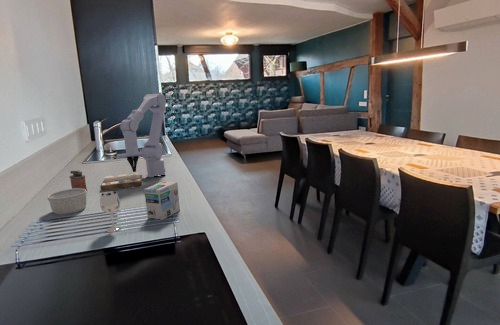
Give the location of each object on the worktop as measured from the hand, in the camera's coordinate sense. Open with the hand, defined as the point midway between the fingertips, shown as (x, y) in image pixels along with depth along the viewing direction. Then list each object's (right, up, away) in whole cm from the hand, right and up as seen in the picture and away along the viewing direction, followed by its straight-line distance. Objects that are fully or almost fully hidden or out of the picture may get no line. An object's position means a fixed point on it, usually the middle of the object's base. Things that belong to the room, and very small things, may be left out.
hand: (134, 171), depth 167 cm
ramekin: (-13, -14, -36) cm, 41 cm away
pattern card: (-4, -5, -7) cm, 9 cm away
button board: (-5, -7, -2) cm, 8 cm away
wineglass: (+13, -17, -58) cm, 62 cm away
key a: (0, -4, +1) cm, 4 cm away
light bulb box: (+27, -14, -47) cm, 56 cm away
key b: (-6, -5, -1) cm, 7 cm away
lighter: (-23, -9, -9) cm, 26 cm away
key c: (-11, -5, -2) cm, 13 cm away
